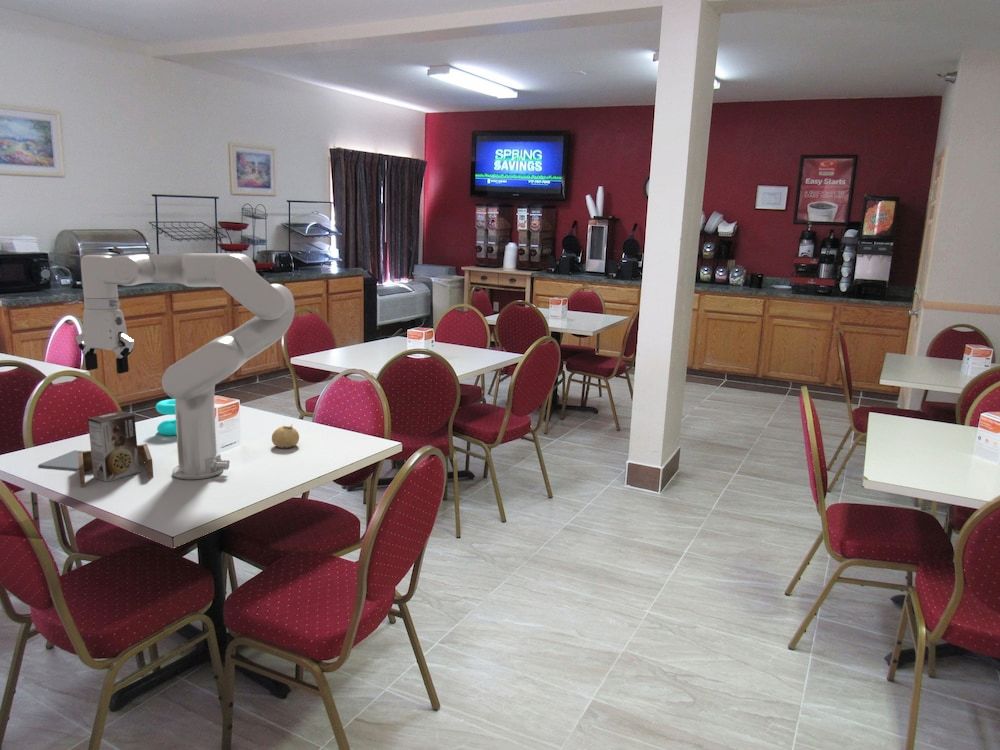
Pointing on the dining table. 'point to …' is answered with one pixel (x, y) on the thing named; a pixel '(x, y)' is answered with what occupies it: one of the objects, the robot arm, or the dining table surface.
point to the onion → (285, 436)
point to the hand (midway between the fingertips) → (107, 371)
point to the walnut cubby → (86, 464)
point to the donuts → (168, 409)
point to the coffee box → (113, 445)
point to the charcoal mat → (64, 461)
